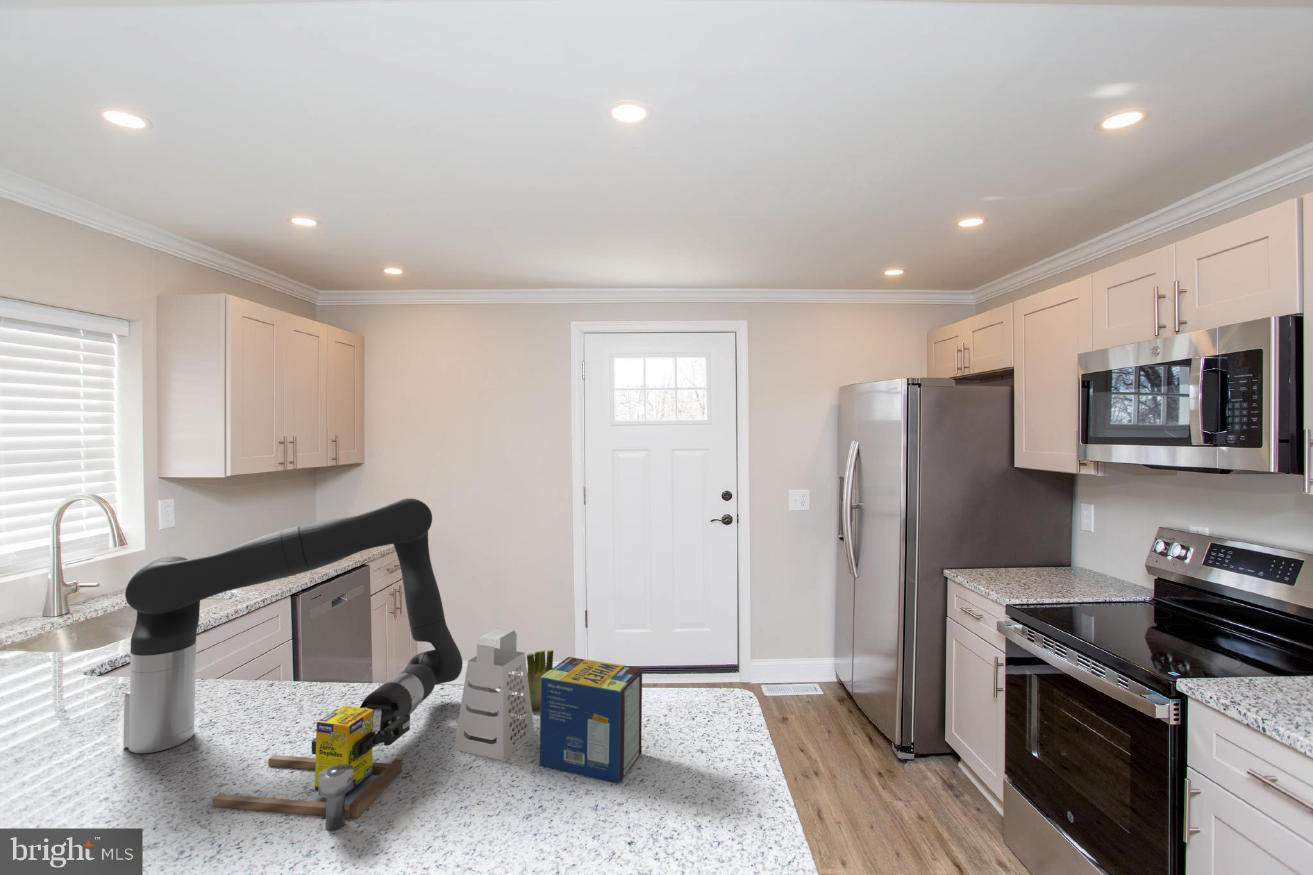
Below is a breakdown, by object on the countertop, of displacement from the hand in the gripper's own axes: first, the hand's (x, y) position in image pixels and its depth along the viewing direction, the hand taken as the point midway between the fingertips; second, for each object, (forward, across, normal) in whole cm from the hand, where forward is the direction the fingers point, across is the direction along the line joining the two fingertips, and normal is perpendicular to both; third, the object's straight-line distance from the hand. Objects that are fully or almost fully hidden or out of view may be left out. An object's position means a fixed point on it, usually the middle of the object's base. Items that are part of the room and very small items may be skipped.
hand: (335, 750), depth 91 cm
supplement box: (-2, 0, +7) cm, 7 cm away
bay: (-2, -6, +8) cm, 10 cm away
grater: (-20, +18, +8) cm, 28 cm away
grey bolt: (+6, +4, +8) cm, 10 cm away
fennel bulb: (-34, +22, +8) cm, 41 cm away
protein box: (-16, +37, +8) cm, 41 cm away
